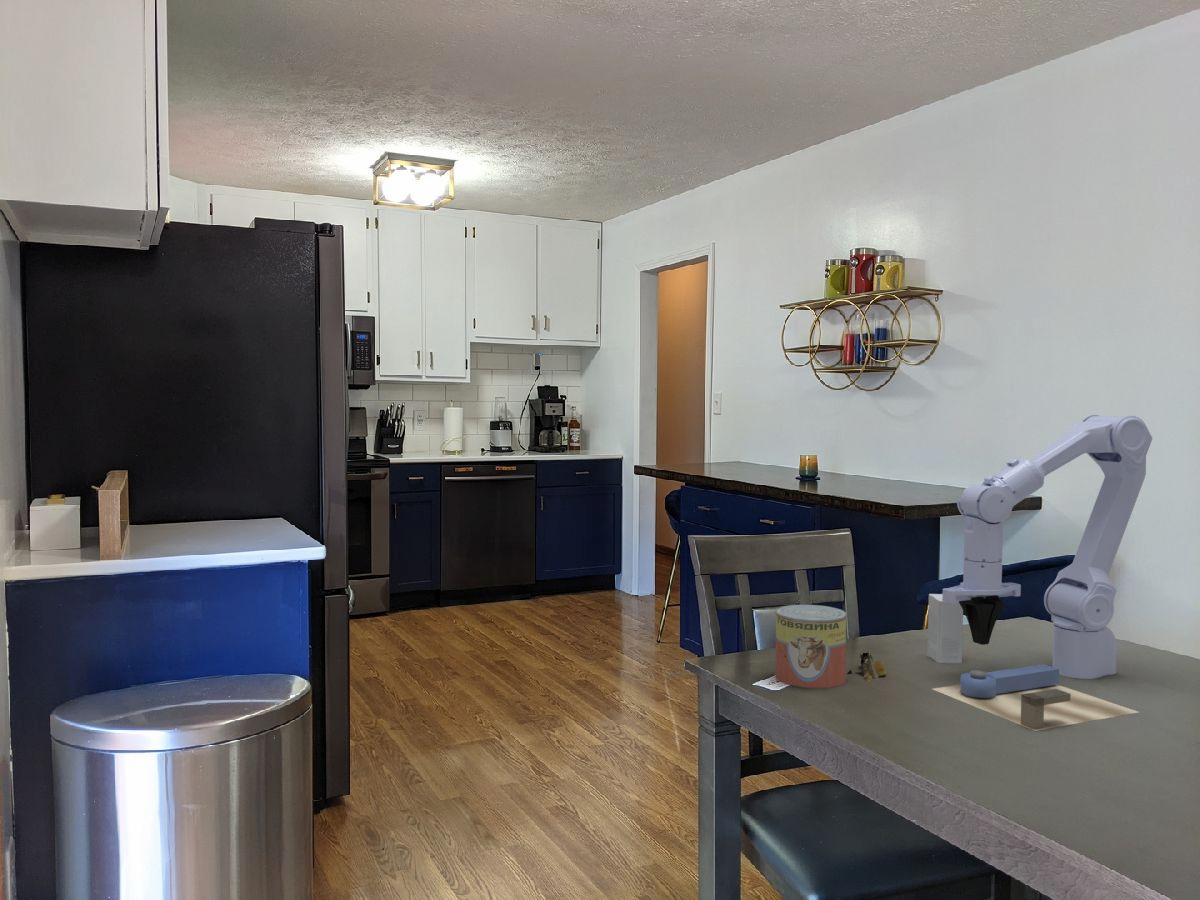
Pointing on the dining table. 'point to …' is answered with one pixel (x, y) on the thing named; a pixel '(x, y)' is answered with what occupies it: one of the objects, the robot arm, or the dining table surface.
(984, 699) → the board
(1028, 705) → the keeper
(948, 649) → the skincare box
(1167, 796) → the dining table surface
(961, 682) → the link
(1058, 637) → the robot arm
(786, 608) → the canned food
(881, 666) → the regulator
